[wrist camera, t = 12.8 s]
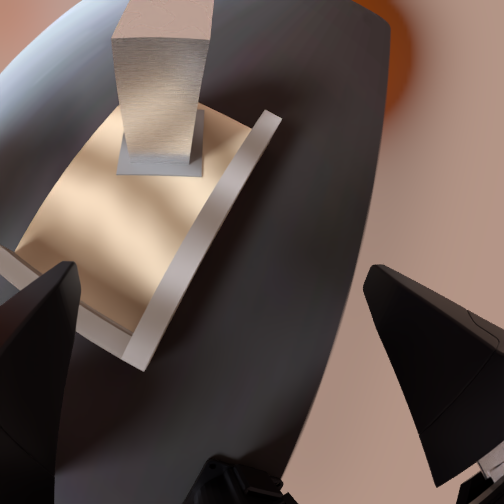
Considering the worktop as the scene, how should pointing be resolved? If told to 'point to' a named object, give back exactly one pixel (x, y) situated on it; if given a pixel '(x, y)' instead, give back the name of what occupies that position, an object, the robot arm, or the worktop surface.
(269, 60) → the worktop surface
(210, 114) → the corner arena
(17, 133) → the worktop surface
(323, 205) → the worktop surface
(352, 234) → the worktop surface
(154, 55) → the aluminium post
